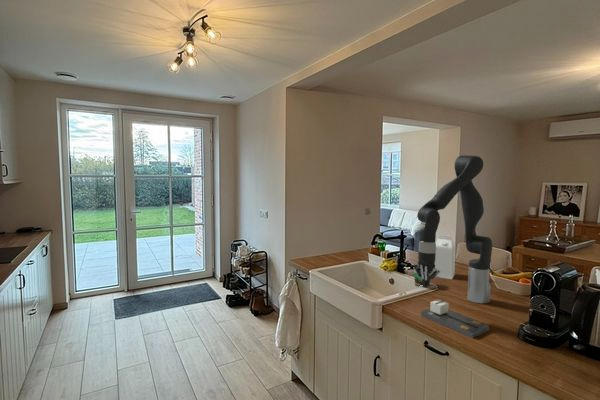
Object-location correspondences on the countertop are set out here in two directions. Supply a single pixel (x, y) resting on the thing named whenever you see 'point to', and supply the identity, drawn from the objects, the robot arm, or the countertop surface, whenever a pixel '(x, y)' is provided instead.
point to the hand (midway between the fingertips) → (425, 287)
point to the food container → (418, 279)
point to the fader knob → (439, 306)
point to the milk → (445, 257)
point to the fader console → (457, 322)
